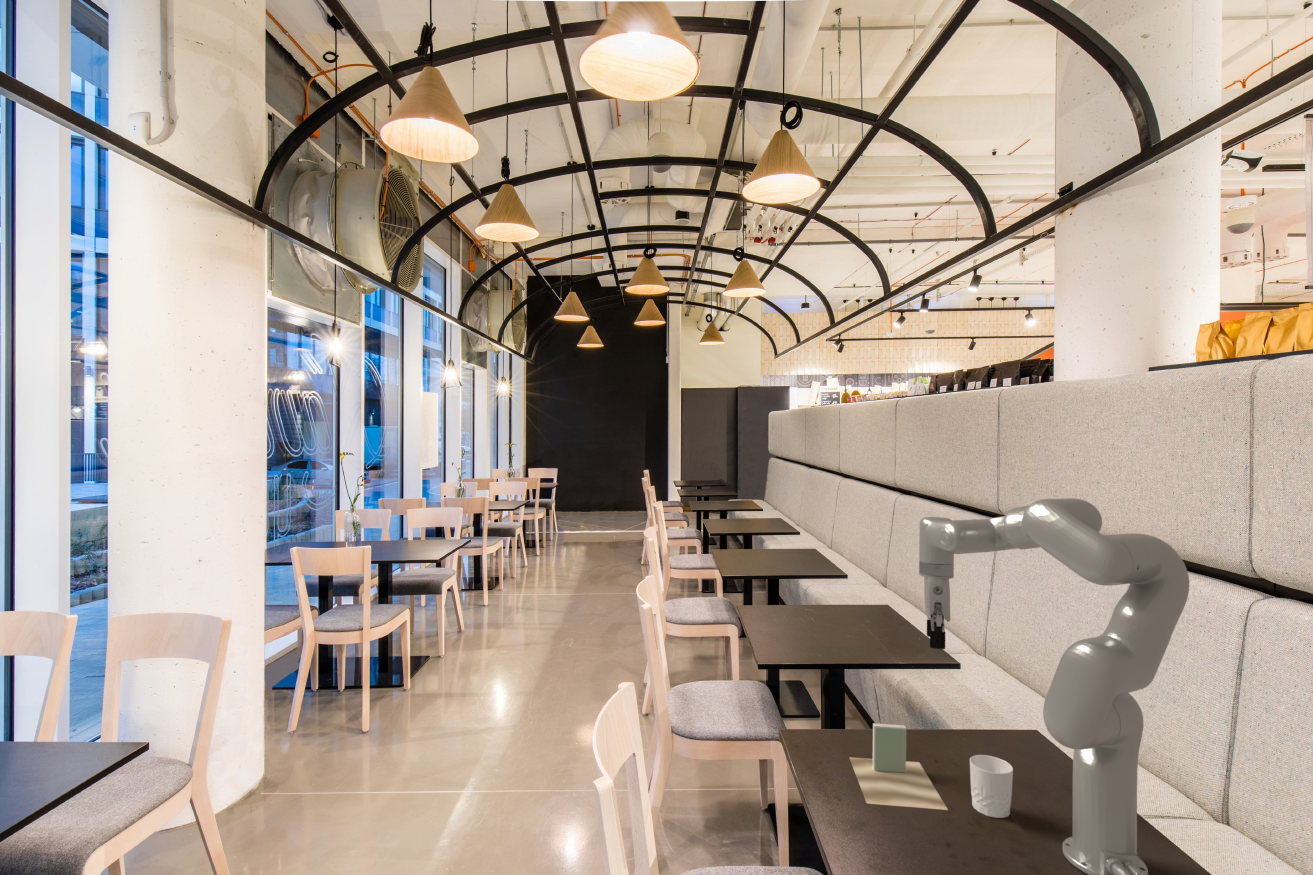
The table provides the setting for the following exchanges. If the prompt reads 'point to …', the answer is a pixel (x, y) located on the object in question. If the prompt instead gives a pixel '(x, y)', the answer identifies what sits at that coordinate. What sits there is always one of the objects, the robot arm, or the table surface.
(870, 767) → the board
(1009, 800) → the white cup
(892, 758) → the tile
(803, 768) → the table surface
